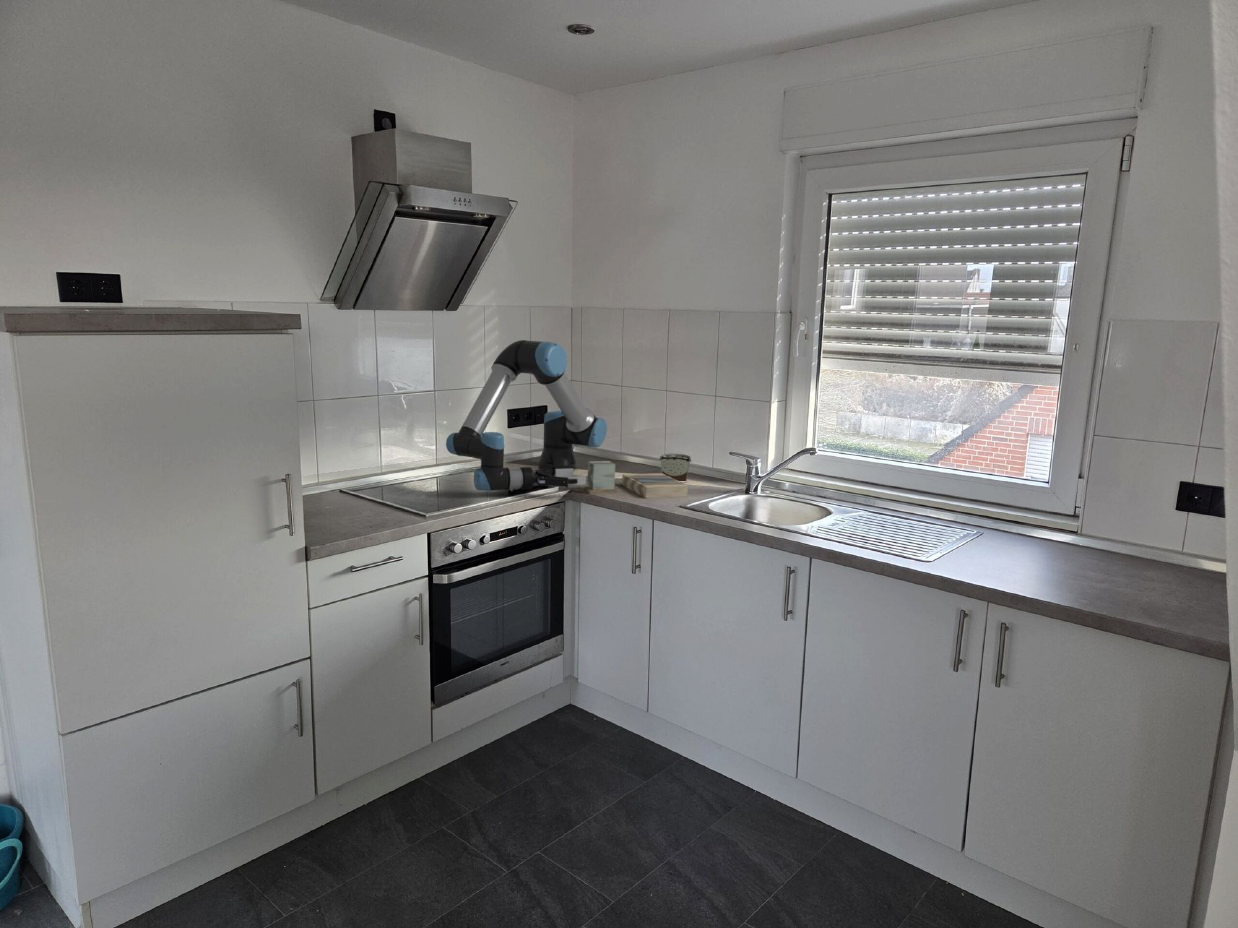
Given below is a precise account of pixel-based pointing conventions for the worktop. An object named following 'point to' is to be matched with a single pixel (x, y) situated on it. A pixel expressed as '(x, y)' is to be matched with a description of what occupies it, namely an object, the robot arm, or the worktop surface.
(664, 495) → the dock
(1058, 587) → the worktop surface
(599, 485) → the pale green block
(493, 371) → the robot arm
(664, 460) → the food container
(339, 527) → the worktop surface
